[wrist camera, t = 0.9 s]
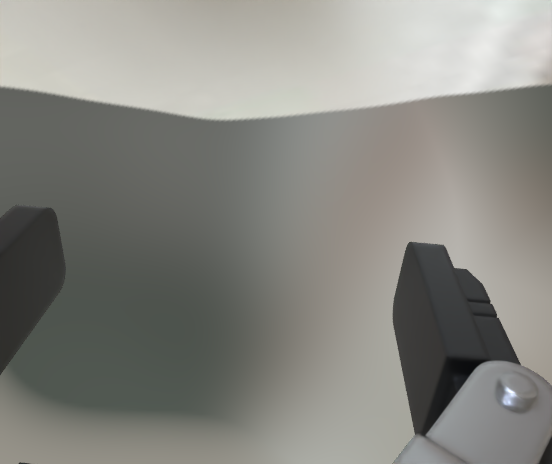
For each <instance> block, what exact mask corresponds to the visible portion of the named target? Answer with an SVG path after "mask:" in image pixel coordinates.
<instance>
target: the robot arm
mask: <svg viewBox="0 0 552 464" xmlns="http://www.w3.org/2000/svg"><path fill="white" fill-rule="evenodd" d="M65 272H66V267H65V260H64V254H63V249H62V243H61V237H60V232H59V226H58V221H57V216H56V213H55V212H54V210H53V209H51V208H47V207H36V206H25V205H15V206H13V207H12V208H11V209H10V210H9V211H7V212H6V213H5V214H4V215H3V216H2V217H1V218H0V375H1V373H2V372H3V370H4V369H5V368H6V366H7V365H8V363H9V362H10V361H11V359H12V358H13V356H14V355H15V354H16V352H17V351H18V349H19V348H20V347H21V345H22V344H23V342H24V341H25V339H26V338H27V337H28V335H29V334H30V333H31V331H32V330H33V328H34V327H35V326H36V324H37V323H38V321H39V320H40V319H41V317H42V316H43V314H44V313H45V312H46V310H47V309H48V307H49V306H50V305H51V303H52V302H53V301H54V299H55V298H56V296H57V295H58V293H59V292H60V290H61V288H62V286H63V283H64V279H65ZM393 325H394V330H395V335H396V340H397V345H398V350H399V356H400V360H401V366H402V371H403V376H404V381H405V386H406V391H407V396H408V401H409V406H410V411H411V416H412V421H413V427H414V432H415V436H414V437H413V438H412V439H411V440H410V441H409V443H408V444H407V445H406V446H405V448H404V449H403V451H402V452H401V453H400V454H399V456H398V457H397V458H396V459H395V461H394V462H393V463H392V464H552V386H551V385H550V384H549V383H548V382H547V381H546V380H545V379H544V378H543V377H541V376H540V375H539V374H537V373H535V372H534V371H532V370H530V369H528V368H526V367H524V366H521V364H520V362H519V360H518V358H517V356H516V354H515V352H514V349H513V347H512V345H511V343H510V341H509V339H508V337H507V335H506V332H505V330H504V329H503V326H502V324H501V322H500V320H499V318H497V314H496V311H495V309H494V307H493V305H492V304H490V299H489V297H488V294H487V293H486V290H485V288H484V286H483V284H482V283H480V281H479V280H477V279H476V278H475V277H474V276H473V275H472V274H471V273H470V272H469V271H468V270H467V269H457V268H454V267H453V264H452V262H451V260H450V257H449V255H448V252H447V250H446V248H445V246H444V245H438V244H428V243H417V242H409V243H408V245H407V247H406V251H405V255H404V259H403V263H402V267H401V271H400V276H399V280H398V284H397V288H396V293H395V297H394V303H393ZM19 464H28V463H19Z"/></svg>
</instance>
